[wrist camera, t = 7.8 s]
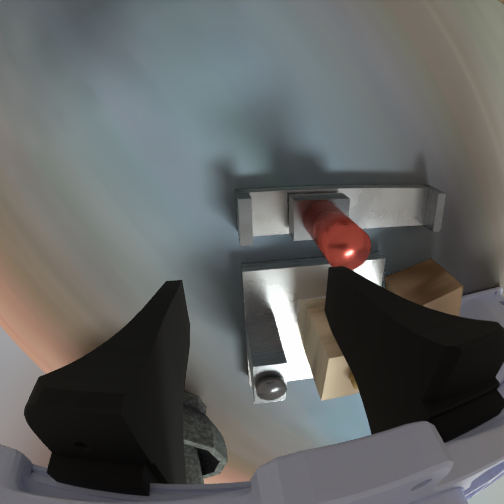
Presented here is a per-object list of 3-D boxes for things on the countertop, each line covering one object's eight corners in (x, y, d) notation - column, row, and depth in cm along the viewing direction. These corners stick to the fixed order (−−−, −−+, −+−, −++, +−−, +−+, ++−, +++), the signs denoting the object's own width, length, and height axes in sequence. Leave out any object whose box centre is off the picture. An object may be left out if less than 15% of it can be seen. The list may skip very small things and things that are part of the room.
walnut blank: (430, 257, 25) (463, 286, 20) (429, 296, 27) (457, 326, 22) (384, 276, 25) (413, 309, 21) (386, 315, 27) (411, 349, 23)
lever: (341, 192, 20) (384, 223, 15) (339, 229, 21) (377, 269, 16) (289, 194, 20) (316, 227, 14) (288, 232, 21) (313, 276, 16)
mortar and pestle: (114, 387, 27) (92, 490, 17) (196, 367, 27) (195, 486, 16) (168, 441, 32) (165, 527, 22) (239, 427, 32) (251, 519, 21)
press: (379, 251, 24) (425, 299, 18) (357, 360, 29) (384, 412, 23) (241, 263, 23) (251, 324, 17) (248, 376, 28) (257, 437, 22)
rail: (428, 185, 22) (446, 193, 20) (423, 220, 23) (440, 231, 21) (235, 189, 21) (237, 199, 18) (237, 231, 22) (240, 246, 20)
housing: (366, 301, 24) (401, 352, 19) (358, 342, 26) (385, 394, 20) (307, 309, 24) (332, 367, 18) (304, 351, 26) (324, 408, 20)
